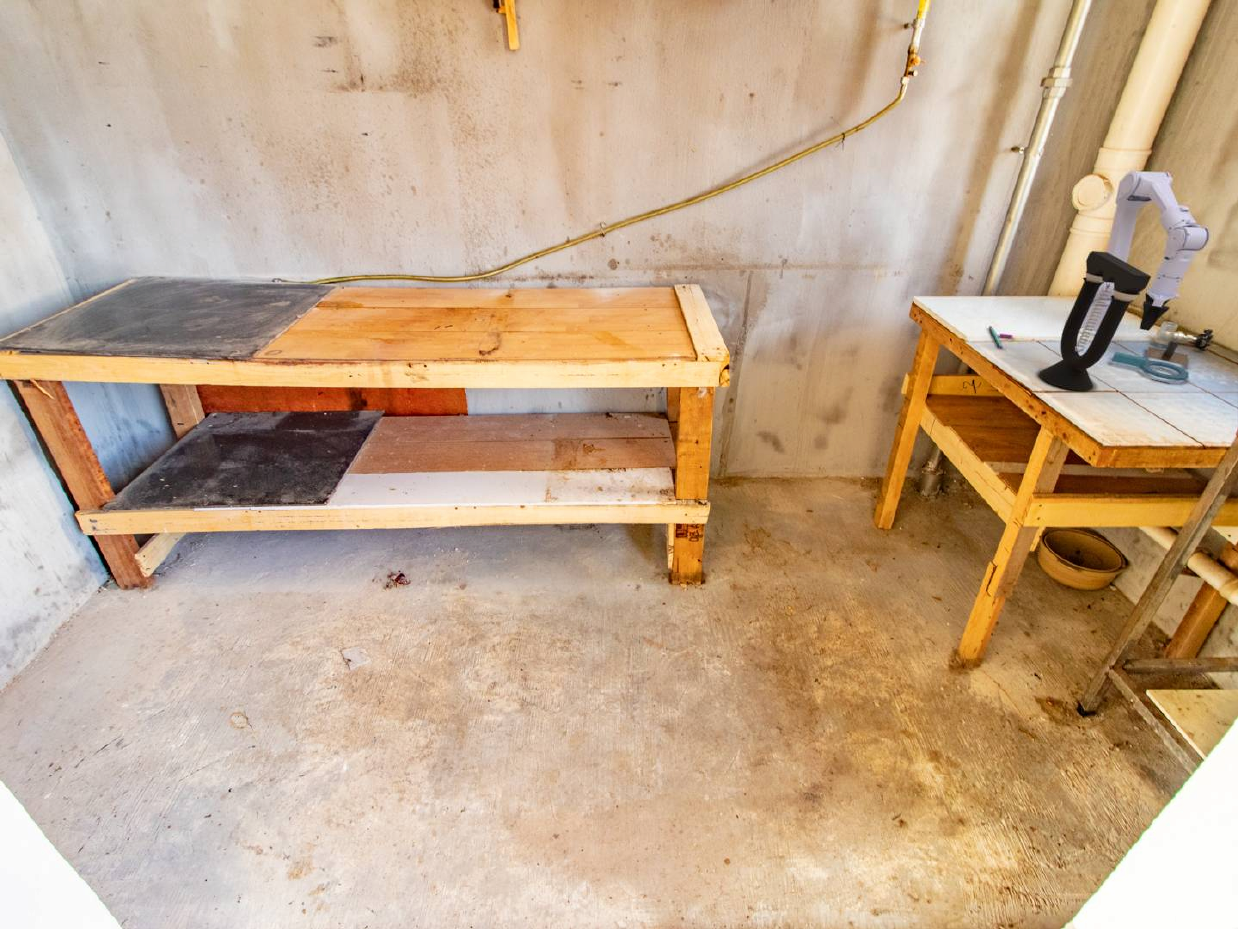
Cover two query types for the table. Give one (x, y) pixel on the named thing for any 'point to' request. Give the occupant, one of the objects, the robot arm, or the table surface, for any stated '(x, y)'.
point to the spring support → (1126, 289)
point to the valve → (1182, 336)
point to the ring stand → (1168, 353)
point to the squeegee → (997, 337)
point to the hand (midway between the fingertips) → (1145, 325)
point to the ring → (1144, 365)
